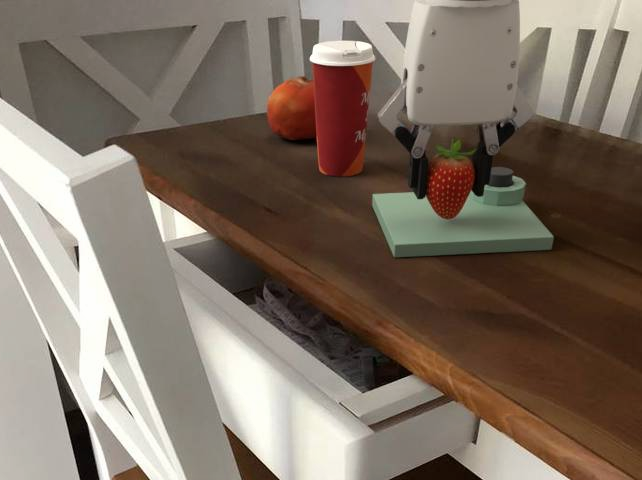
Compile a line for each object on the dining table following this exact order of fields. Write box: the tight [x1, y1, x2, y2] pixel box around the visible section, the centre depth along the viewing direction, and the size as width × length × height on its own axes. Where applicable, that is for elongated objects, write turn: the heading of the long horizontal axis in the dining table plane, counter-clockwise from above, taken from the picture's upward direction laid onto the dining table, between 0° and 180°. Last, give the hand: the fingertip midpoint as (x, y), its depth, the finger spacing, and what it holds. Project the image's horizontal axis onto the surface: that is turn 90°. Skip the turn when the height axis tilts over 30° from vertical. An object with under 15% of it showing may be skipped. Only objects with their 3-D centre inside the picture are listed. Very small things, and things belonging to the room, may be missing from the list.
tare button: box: [488, 166, 514, 188], centre depth 80 cm, size 3×3×2 cm
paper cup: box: [309, 40, 377, 178], centre depth 89 cm, size 8×8×14 cm
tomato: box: [266, 75, 317, 141], centre depth 102 cm, size 9×9×8 cm
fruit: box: [426, 137, 478, 220], centre depth 73 cm, size 5×5×8 cm
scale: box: [371, 175, 555, 258], centre depth 78 cm, size 16×14×3 cm
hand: (447, 191), depth 74 cm, fingers closed on fruit, 5 cm apart
